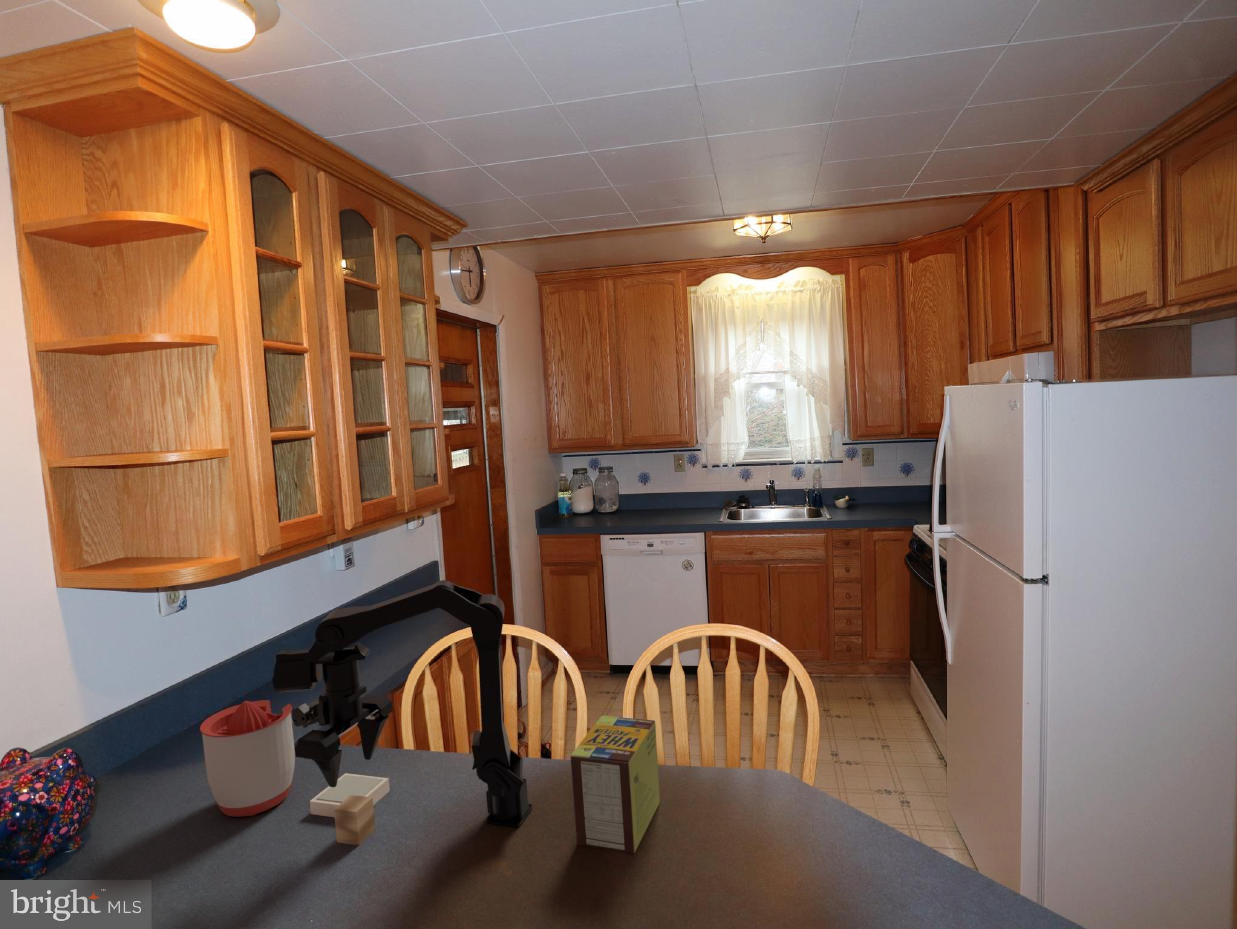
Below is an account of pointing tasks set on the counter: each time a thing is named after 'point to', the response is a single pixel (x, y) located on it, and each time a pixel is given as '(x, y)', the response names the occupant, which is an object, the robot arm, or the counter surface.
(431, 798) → the counter surface
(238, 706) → the citrus juicer
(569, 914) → the counter surface
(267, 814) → the counter surface
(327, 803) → the tile base
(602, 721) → the protein box
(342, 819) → the oak block
